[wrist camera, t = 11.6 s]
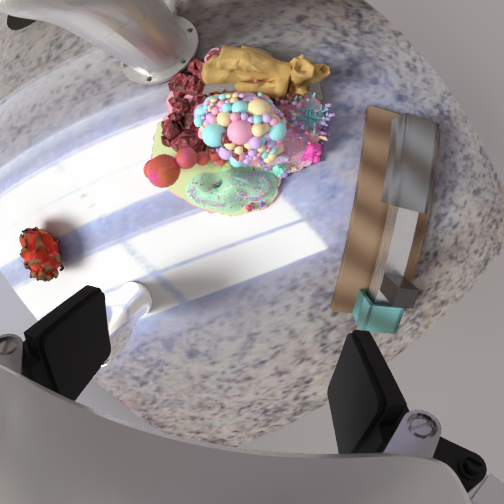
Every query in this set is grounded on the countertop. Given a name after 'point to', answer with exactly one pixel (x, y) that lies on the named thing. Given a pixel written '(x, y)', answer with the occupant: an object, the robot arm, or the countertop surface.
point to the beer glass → (125, 315)
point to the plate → (18, 22)
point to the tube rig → (386, 208)
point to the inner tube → (394, 261)
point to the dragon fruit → (40, 254)
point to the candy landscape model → (238, 128)
